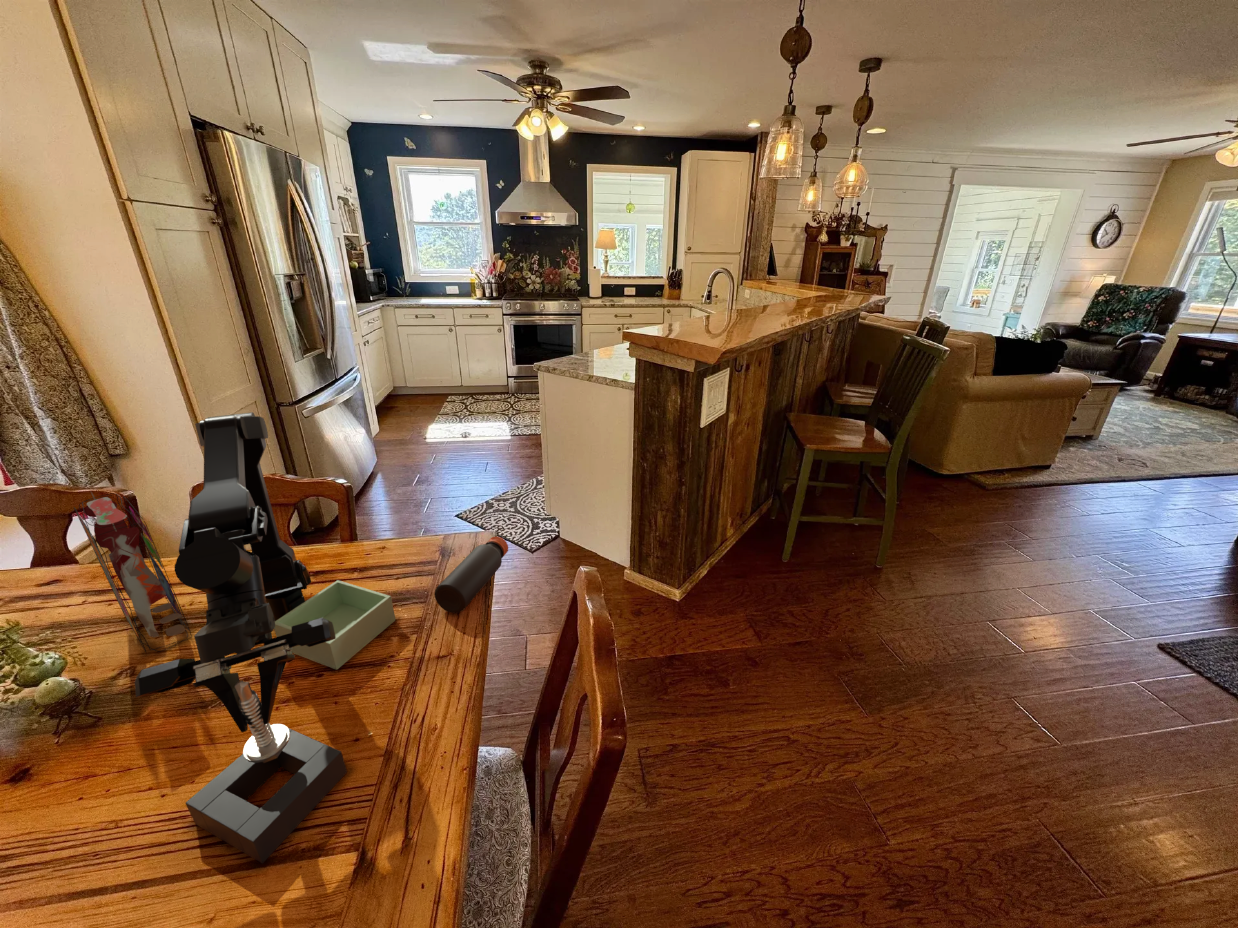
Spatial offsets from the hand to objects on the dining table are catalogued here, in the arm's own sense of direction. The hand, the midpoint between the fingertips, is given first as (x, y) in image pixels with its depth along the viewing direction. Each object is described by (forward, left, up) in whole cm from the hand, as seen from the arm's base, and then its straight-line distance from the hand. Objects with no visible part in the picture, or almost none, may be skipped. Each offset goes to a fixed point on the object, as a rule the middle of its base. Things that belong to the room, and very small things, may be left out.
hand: (255, 727), depth 58 cm
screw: (-1, +1, -7) cm, 7 cm away
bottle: (-2, +36, -9) cm, 37 cm away
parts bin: (-18, +25, -12) cm, 33 cm away
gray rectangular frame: (-1, 0, -12) cm, 12 cm away
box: (-54, +15, -12) cm, 57 cm away
